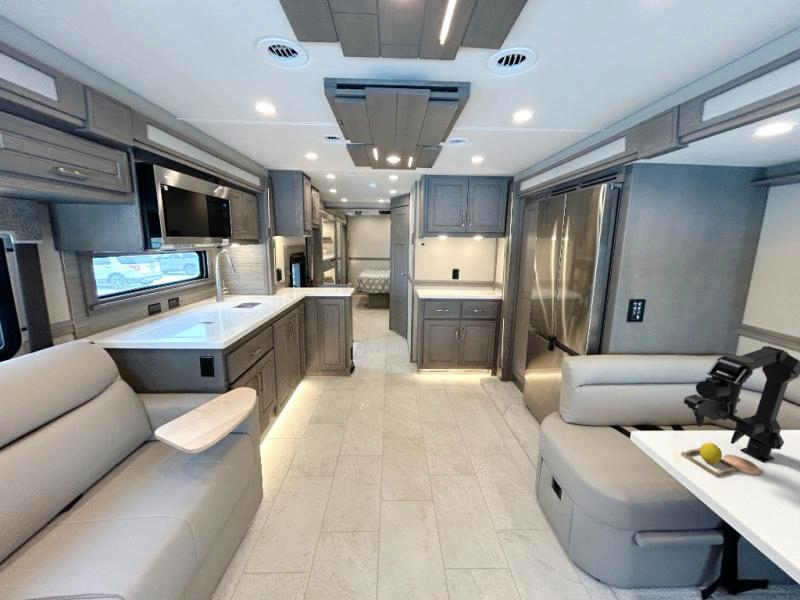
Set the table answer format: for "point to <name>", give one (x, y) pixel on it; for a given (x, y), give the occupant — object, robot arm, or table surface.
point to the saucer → (742, 464)
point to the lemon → (710, 453)
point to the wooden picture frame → (717, 473)
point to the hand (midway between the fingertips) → (715, 434)
